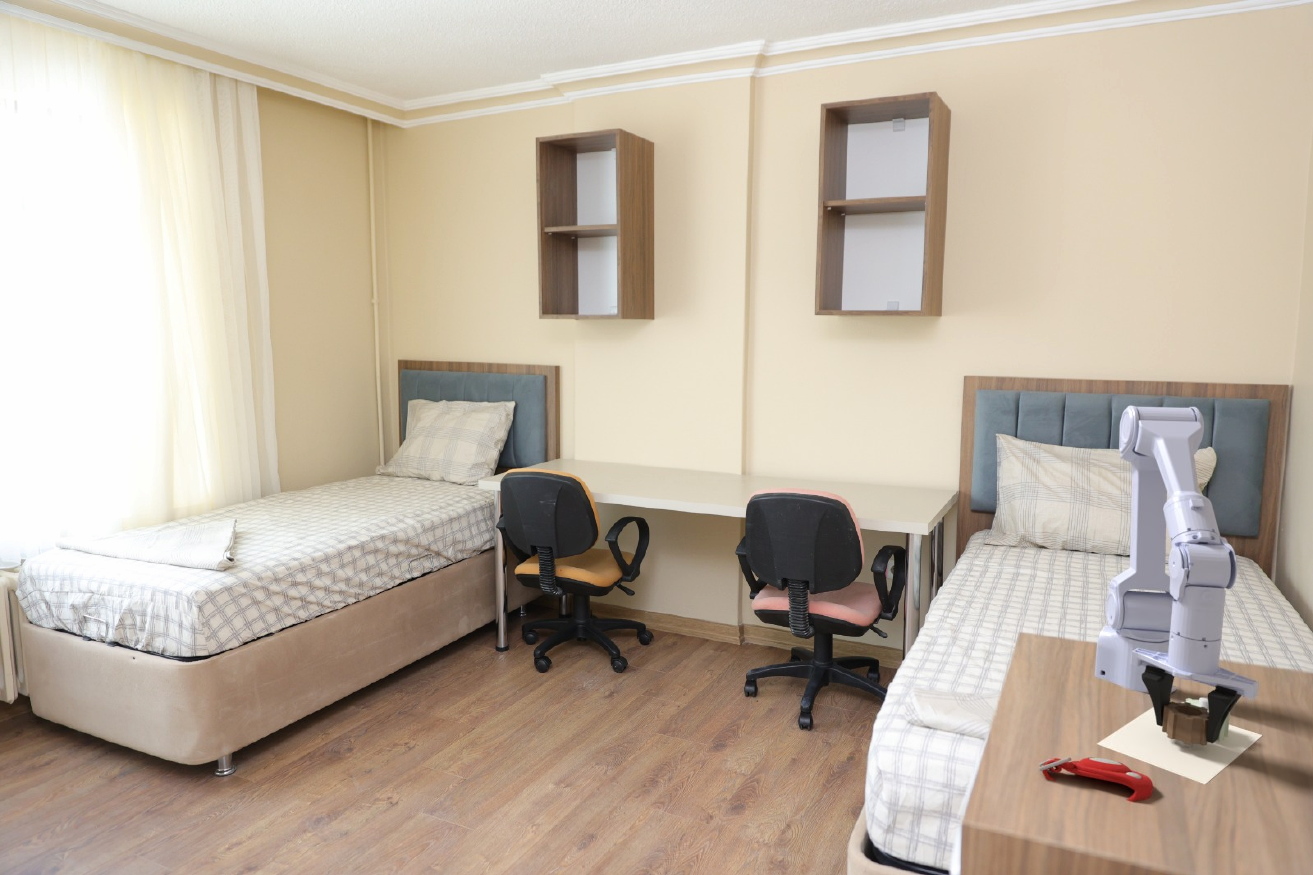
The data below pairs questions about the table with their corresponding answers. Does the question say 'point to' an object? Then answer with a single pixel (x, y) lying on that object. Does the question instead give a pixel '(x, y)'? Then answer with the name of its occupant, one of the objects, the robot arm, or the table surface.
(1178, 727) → the walnut gear
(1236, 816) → the table surface
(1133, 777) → the red peeler
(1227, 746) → the gear board
